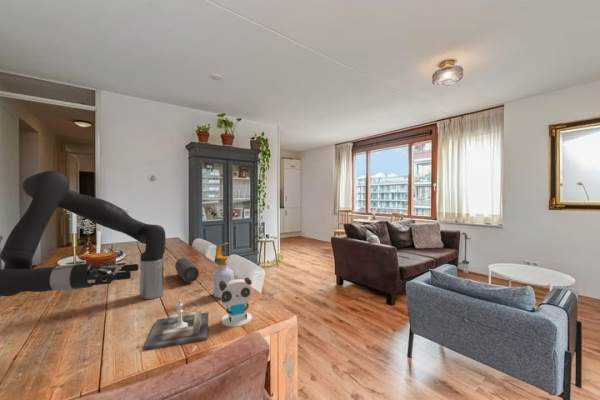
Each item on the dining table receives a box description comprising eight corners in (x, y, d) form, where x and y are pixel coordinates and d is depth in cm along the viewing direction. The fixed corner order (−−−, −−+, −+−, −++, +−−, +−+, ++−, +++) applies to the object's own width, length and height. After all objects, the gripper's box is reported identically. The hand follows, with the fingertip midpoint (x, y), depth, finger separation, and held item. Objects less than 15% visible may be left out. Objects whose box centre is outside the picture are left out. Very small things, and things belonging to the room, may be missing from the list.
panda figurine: (221, 329, 90) (221, 287, 90) (218, 315, 101) (217, 277, 100) (255, 322, 95) (255, 282, 95) (248, 310, 105) (248, 273, 105)
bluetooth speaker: (200, 282, 138) (200, 264, 137) (181, 286, 132) (181, 267, 132) (191, 272, 156) (191, 255, 156) (174, 274, 151) (174, 257, 151)
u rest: (144, 350, 78) (144, 340, 78) (157, 322, 96) (156, 314, 95) (207, 339, 84) (207, 330, 84) (208, 314, 101) (208, 307, 101)
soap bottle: (228, 299, 116) (228, 245, 116) (210, 297, 118) (209, 244, 117) (237, 291, 125) (236, 241, 124) (219, 290, 127) (219, 240, 126)
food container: (104, 276, 148) (104, 258, 148) (77, 276, 148) (76, 257, 148) (123, 268, 164) (123, 251, 164) (99, 268, 164) (98, 251, 164)
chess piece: (175, 324, 92) (174, 296, 92) (189, 323, 92) (189, 295, 92) (170, 331, 87) (169, 302, 87) (185, 330, 88) (184, 301, 87)
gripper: (61, 271, 73) (127, 265, 78) (84, 258, 86) (140, 254, 92) (62, 297, 73) (128, 290, 78) (85, 280, 87) (140, 275, 92)
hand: (134, 270), depth 85 cm, fingers open, 8 cm apart
